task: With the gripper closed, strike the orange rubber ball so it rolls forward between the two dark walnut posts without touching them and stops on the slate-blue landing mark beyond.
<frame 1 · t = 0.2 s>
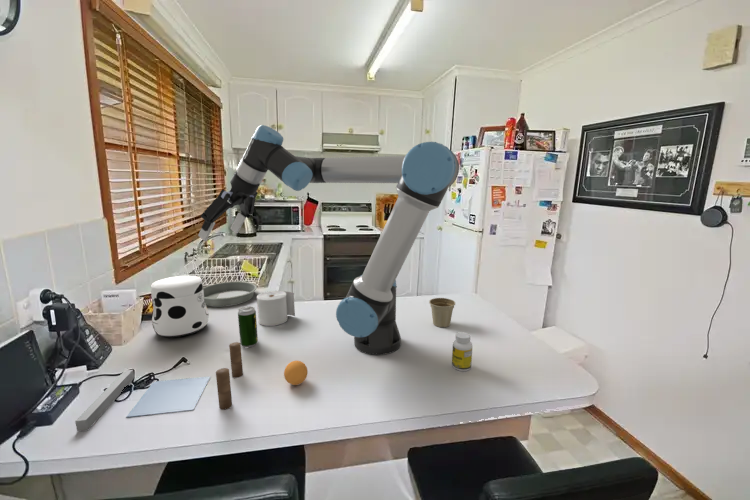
hand: (218, 234, 107), 36 cm above the worktop, tool tilted 35°, fingers open, 13 cm apart
cake pan: (228, 299, 155), on the worktop
post 1: (225, 405, 81), on the worktop
landing mark: (172, 395, 85), on the worktop
milk container: (182, 330, 122), on the worktop
post 2: (237, 375, 94), on the worktop
supplement bottle: (461, 367, 99), on the worktop
flower pot: (441, 324, 127), on the worktop
toilet tissue: (274, 320, 131), on the worktop
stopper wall: (109, 401, 83), on the worktop
ball: (295, 372, 90), on the worktop
beer can: (249, 344, 112), on the worktop
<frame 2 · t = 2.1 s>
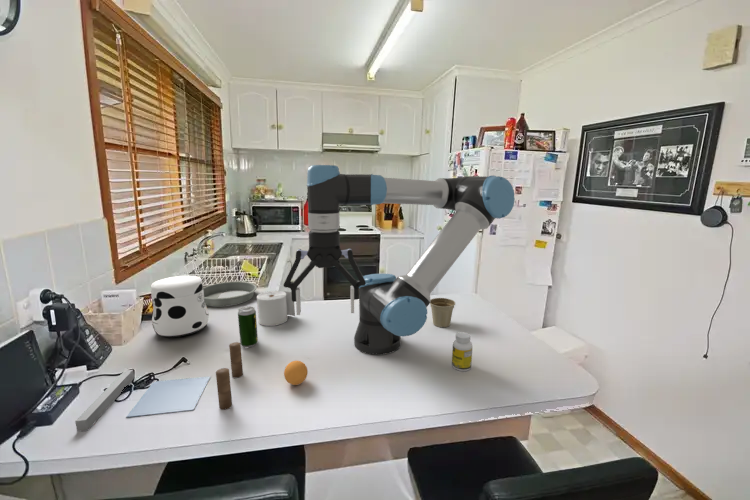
hand: (325, 312, 88), 19 cm above the worktop, tool pointing down, fingers open, 13 cm apart
nothing on the worktop moved.
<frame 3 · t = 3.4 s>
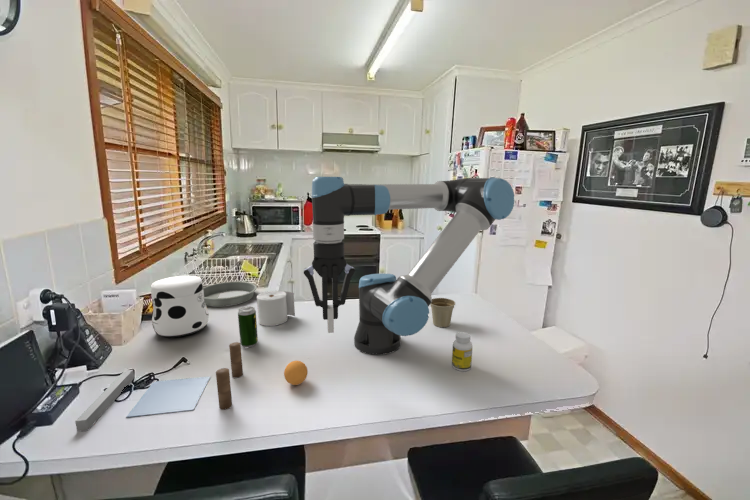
hand: (330, 330, 89), 14 cm above the worktop, tool pointing down, fingers closed
nothing on the worktop moved.
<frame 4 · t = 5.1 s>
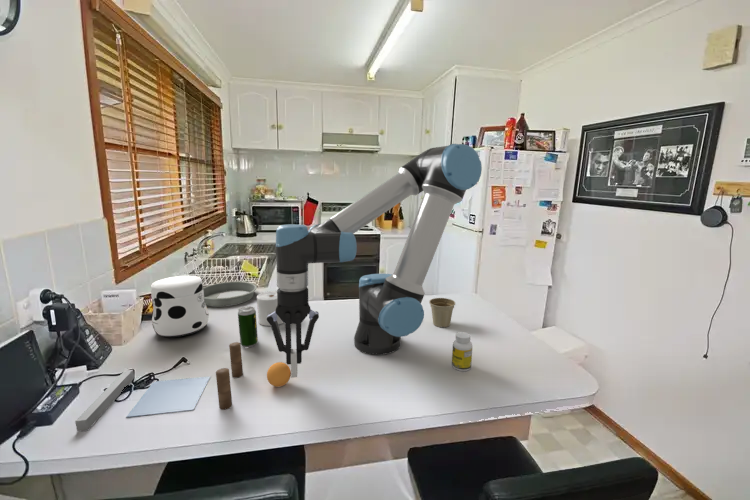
hand: (294, 374, 90), 3 cm above the worktop, tool pointing down, fingers closed
ball: (278, 374, 89), on the worktop
everything else where it was.
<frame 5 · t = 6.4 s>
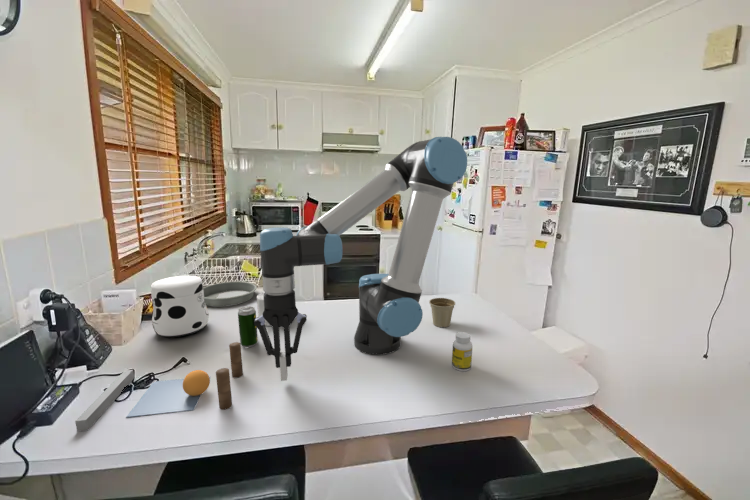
hand: (284, 377, 90), 2 cm above the worktop, tool pointing down, fingers closed
ball: (196, 382, 85), on the worktop
everything else where it was.
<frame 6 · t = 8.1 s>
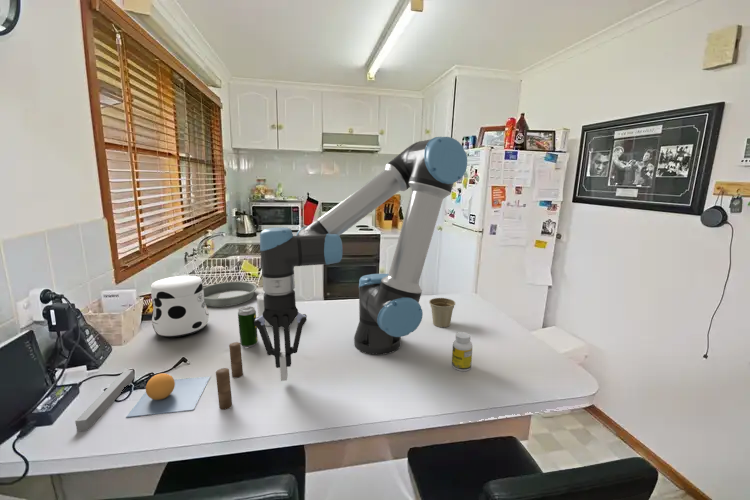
hand: (284, 377, 90), 2 cm above the worktop, tool pointing down, fingers closed
ball: (160, 386, 84), on the worktop
everything else where it was.
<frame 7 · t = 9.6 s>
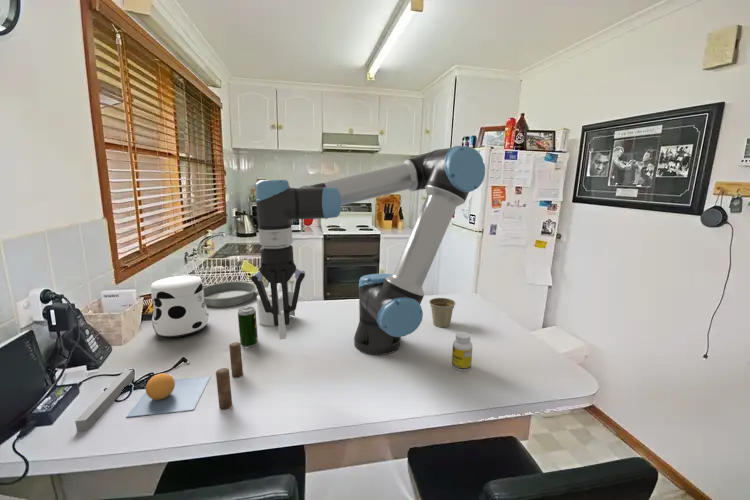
hand: (283, 336, 87), 13 cm above the worktop, tool pointing down, fingers closed
nothing on the worktop moved.
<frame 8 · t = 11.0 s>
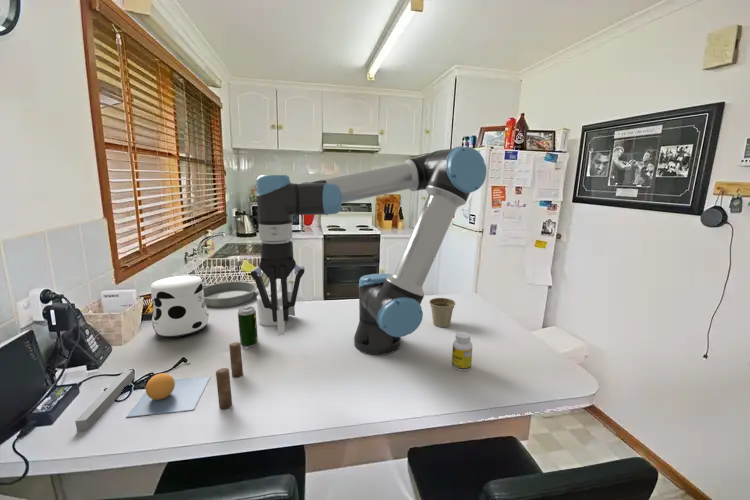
hand: (281, 332, 87), 14 cm above the worktop, tool pointing down, fingers closed
nothing on the worktop moved.
at the end: ball 2.2 cm from the landing mark (horizontally); ball never touched post 1; ball never touched post 2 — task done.
